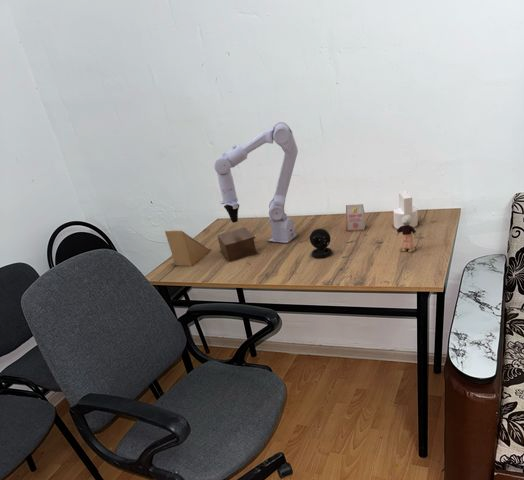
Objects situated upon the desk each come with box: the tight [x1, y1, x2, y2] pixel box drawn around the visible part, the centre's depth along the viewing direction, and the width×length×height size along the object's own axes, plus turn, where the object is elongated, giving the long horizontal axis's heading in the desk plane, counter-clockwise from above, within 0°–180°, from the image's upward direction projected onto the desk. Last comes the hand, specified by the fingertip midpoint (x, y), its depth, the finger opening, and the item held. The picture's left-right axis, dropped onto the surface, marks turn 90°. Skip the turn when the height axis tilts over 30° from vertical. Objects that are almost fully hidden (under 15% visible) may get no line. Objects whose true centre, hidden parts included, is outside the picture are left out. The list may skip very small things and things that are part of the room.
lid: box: [216, 226, 256, 247], centre depth 191 cm, size 12×14×1 cm
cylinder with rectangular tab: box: [393, 190, 419, 230], centre depth 183 cm, size 9×9×12 cm
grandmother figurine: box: [395, 215, 418, 253], centre depth 164 cm, size 8×4×13 cm, turn 65°
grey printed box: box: [345, 203, 366, 232], centre depth 189 cm, size 4×7×10 cm, turn 70°
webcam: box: [309, 228, 333, 259], centre depth 175 cm, size 8×8×10 cm
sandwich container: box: [164, 229, 211, 267], centre depth 194 cm, size 9×15×15 cm, turn 154°
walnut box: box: [217, 237, 257, 263], centre depth 192 cm, size 12×14×6 cm
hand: (234, 221), depth 194 cm, fingers closed
